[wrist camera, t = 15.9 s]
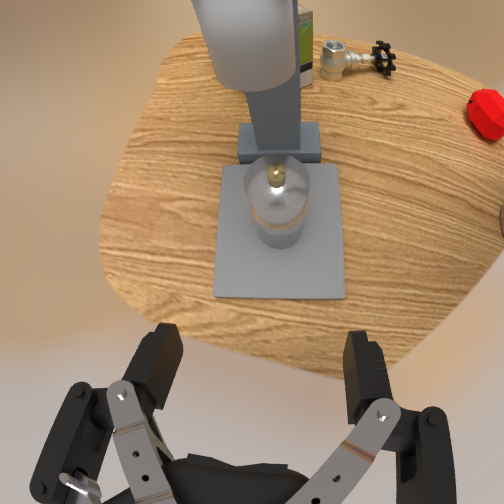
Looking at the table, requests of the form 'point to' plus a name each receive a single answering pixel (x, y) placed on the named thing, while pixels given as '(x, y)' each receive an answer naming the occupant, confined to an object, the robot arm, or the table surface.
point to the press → (265, 143)
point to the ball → (487, 113)
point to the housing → (278, 198)
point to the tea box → (305, 44)
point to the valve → (353, 59)
